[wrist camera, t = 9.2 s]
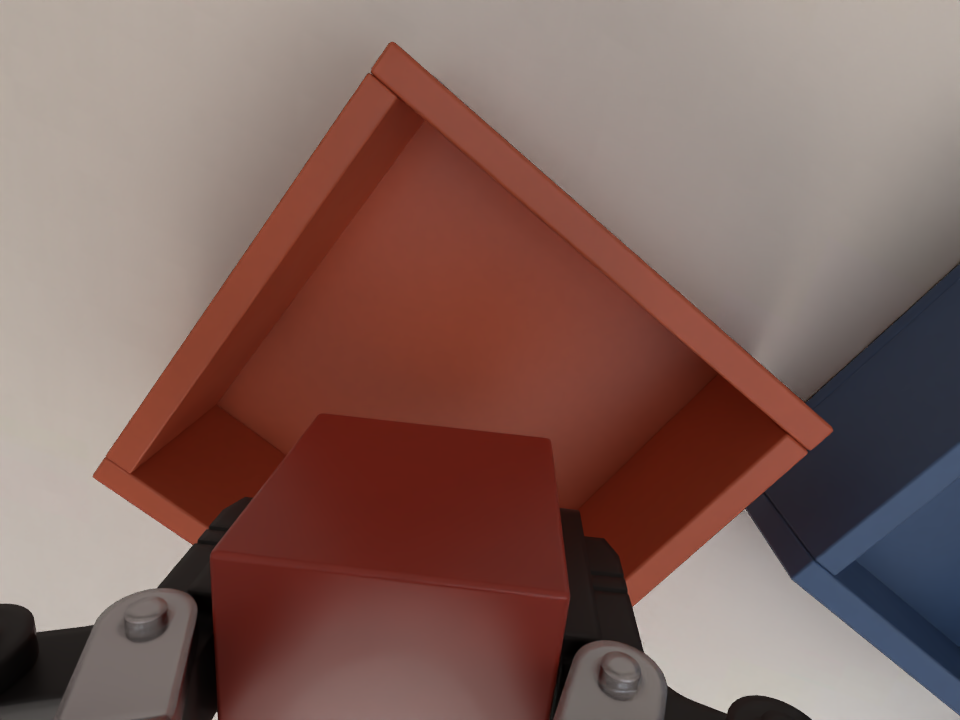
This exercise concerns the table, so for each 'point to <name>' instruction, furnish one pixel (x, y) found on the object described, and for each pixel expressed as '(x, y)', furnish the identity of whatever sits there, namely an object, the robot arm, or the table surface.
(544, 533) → the red block
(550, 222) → the terracotta bin
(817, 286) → the table surface
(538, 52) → the table surface
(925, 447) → the slate bin
